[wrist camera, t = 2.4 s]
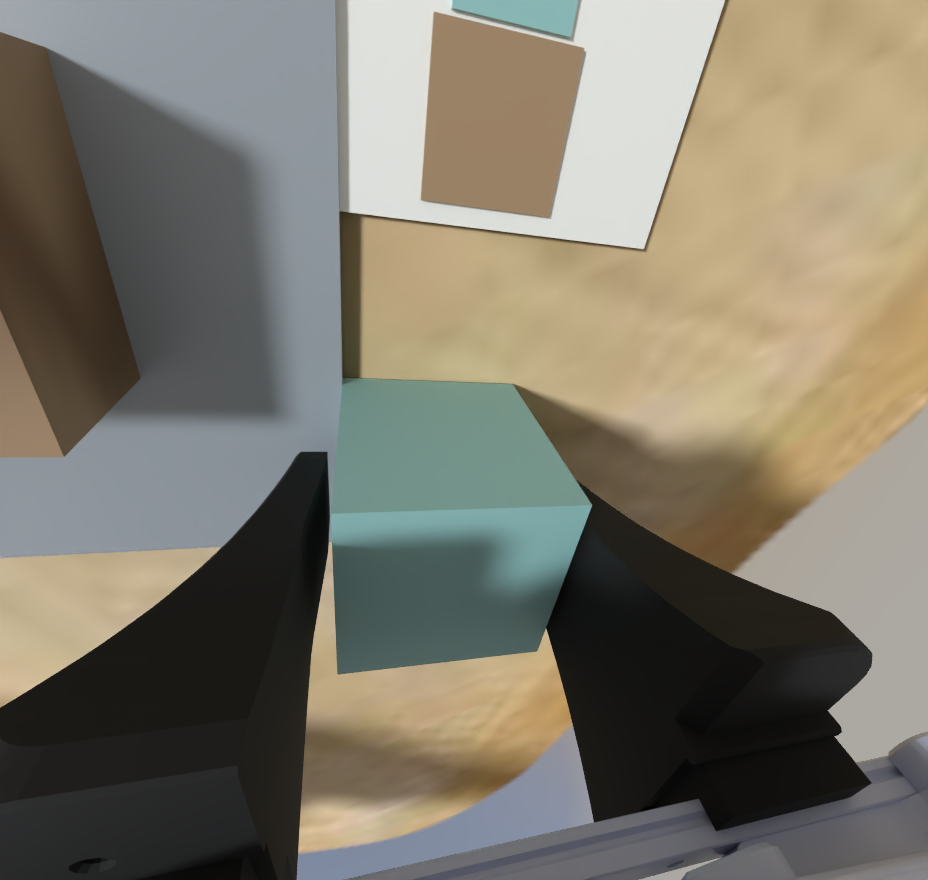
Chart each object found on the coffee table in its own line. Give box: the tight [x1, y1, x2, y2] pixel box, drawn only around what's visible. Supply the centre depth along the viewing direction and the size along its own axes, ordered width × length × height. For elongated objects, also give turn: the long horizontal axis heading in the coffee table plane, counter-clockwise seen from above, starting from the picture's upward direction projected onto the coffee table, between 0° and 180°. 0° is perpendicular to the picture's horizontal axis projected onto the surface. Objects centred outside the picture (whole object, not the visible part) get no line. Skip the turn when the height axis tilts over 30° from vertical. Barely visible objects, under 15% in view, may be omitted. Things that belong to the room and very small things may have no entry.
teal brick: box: [331, 378, 592, 674], centre depth 10 cm, size 4×4×5 cm
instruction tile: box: [336, 0, 725, 249], centre depth 8 cm, size 6×8×1 cm
